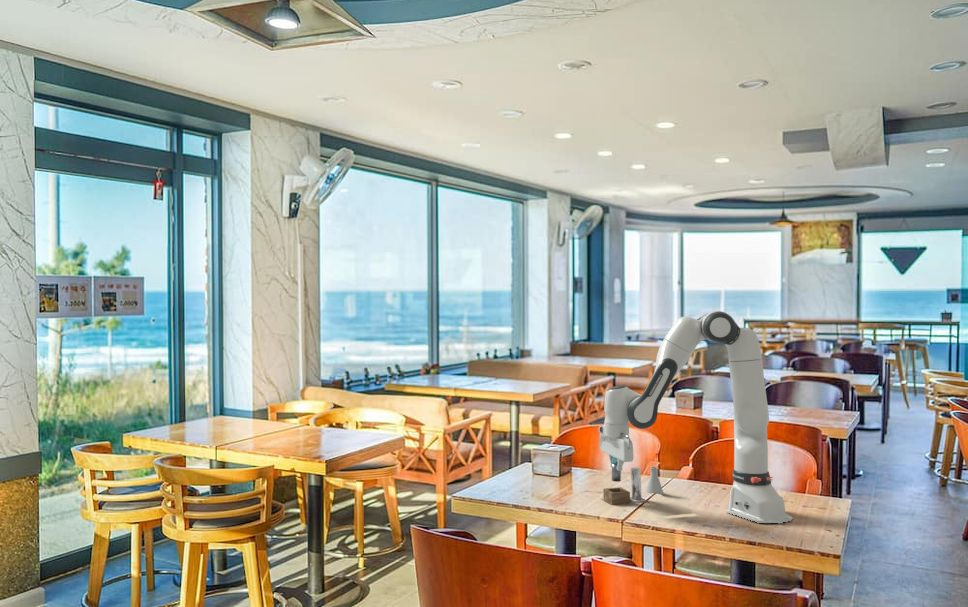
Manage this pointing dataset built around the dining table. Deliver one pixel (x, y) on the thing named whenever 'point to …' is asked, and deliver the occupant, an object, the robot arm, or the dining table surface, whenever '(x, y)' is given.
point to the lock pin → (636, 483)
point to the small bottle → (615, 471)
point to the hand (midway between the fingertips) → (616, 469)
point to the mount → (619, 497)
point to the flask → (654, 482)
